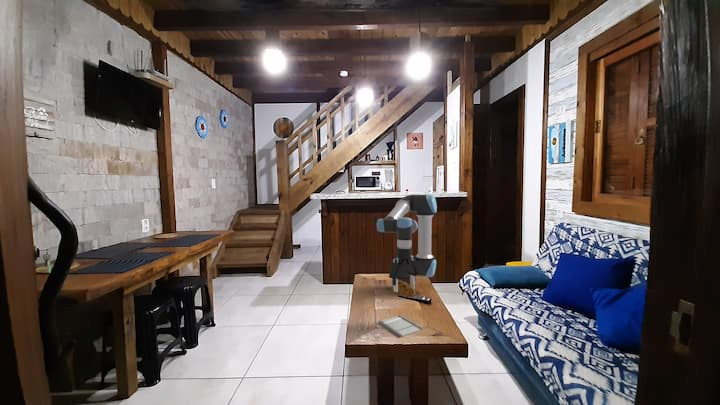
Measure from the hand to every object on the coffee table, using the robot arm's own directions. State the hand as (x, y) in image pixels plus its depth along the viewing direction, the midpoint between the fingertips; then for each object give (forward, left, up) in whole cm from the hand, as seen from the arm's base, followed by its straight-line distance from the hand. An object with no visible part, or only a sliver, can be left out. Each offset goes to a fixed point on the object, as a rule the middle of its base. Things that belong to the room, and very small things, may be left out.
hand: (404, 289), depth 160 cm
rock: (0, 0, -3) cm, 3 cm away
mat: (+5, +3, -17) cm, 18 cm away
